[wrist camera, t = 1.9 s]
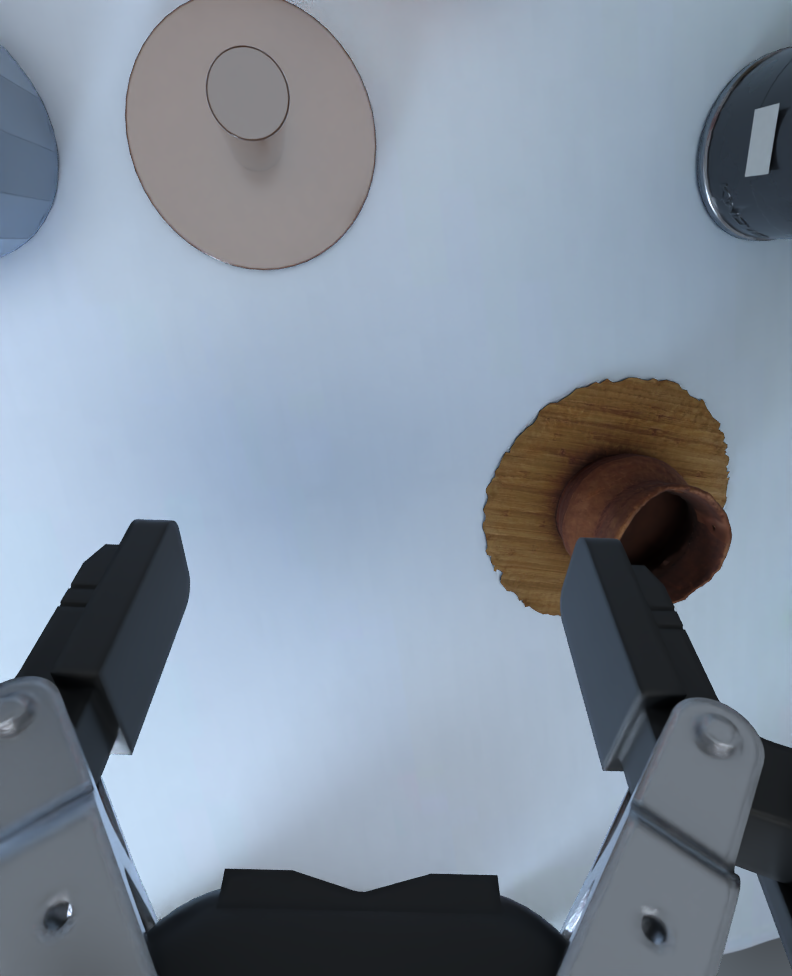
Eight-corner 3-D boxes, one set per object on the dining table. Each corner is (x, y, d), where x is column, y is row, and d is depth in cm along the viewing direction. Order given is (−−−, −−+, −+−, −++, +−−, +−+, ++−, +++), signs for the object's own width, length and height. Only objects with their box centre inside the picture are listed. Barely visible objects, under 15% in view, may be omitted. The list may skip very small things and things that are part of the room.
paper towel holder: (218, -69, 26) (185, -264, 16) (417, 128, 30) (491, 72, 20) (82, 161, 28) (-24, 118, 18) (286, 314, 33) (293, 349, 22)
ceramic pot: (626, 314, 36) (703, 330, 30) (773, 482, 43) (861, 524, 37) (427, 533, 39) (458, 590, 33) (594, 657, 46) (646, 724, 40)
